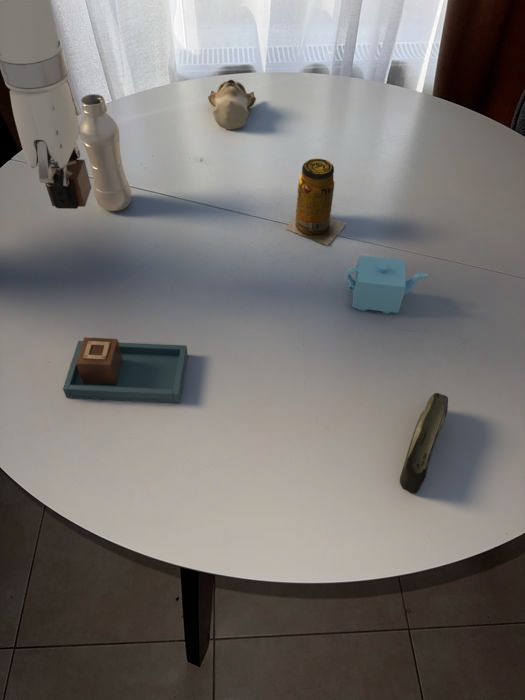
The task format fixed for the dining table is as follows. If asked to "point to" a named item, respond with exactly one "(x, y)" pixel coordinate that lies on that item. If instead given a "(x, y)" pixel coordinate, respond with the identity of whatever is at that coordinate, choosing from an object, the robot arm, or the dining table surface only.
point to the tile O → (99, 361)
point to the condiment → (316, 203)
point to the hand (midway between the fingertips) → (71, 194)
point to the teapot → (380, 283)
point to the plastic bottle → (104, 154)
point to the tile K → (76, 180)
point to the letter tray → (136, 375)
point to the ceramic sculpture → (231, 104)
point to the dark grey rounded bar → (423, 443)
